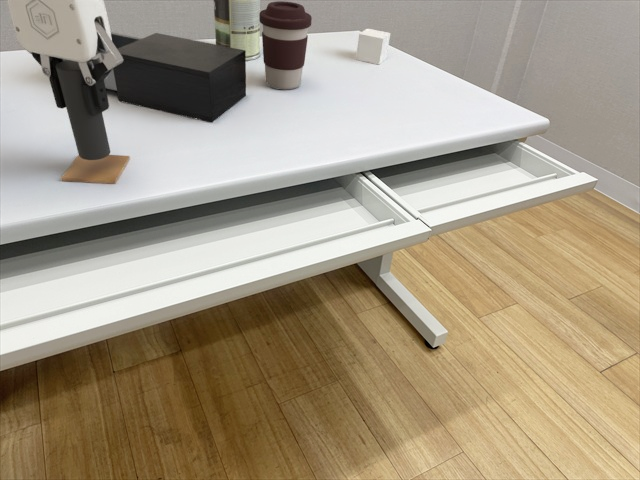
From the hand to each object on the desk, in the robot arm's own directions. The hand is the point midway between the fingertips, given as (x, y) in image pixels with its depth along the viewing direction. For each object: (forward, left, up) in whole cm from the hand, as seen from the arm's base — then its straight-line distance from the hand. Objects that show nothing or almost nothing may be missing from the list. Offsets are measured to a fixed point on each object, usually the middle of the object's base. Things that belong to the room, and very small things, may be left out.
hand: (83, 106), depth 61 cm
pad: (0, 0, -9) cm, 9 cm away
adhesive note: (+46, +59, -9) cm, 75 cm away
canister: (0, 0, -7) cm, 7 cm away
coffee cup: (+25, +38, -9) cm, 46 cm away
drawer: (-8, +32, -8) cm, 34 cm away
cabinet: (+7, +27, -9) cm, 29 cm away
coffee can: (+14, +55, -9) cm, 58 cm away
